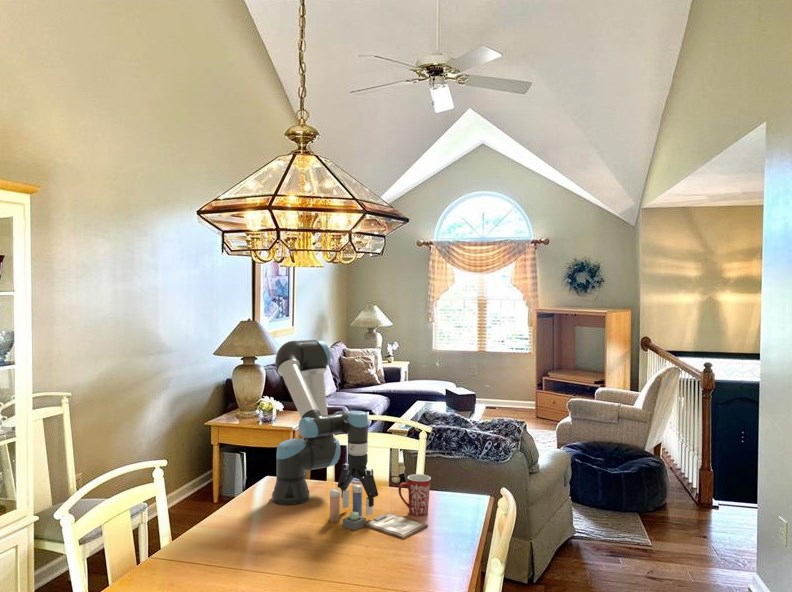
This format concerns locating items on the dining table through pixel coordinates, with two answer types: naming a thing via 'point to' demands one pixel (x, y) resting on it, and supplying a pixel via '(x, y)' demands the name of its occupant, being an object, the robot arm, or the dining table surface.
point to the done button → (354, 516)
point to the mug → (417, 494)
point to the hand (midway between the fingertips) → (357, 510)
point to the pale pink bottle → (334, 505)
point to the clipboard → (396, 525)
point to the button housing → (354, 523)
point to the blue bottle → (357, 499)
